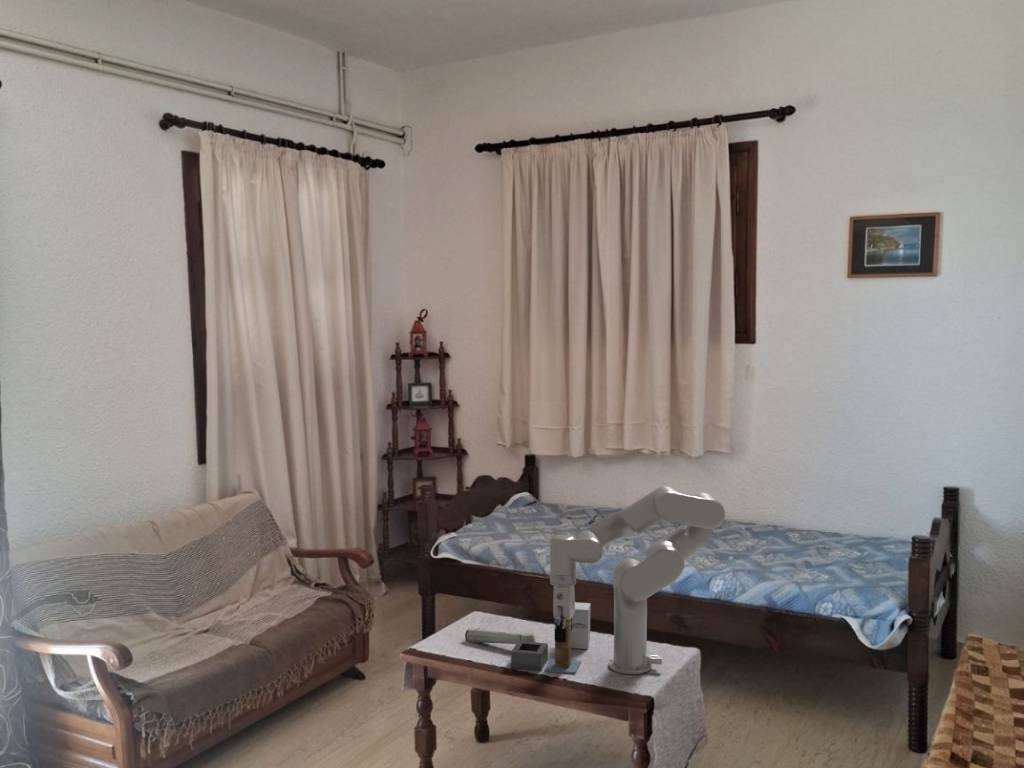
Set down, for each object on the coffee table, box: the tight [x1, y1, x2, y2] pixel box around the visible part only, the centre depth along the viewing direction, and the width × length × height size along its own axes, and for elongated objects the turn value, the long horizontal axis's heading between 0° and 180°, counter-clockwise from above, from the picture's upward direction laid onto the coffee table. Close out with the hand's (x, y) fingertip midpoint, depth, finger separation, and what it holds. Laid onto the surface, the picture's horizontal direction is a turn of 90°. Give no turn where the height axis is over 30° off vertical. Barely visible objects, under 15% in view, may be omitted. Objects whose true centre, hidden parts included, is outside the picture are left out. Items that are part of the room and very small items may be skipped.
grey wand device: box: [464, 627, 539, 645], centre depth 271 cm, size 5×7×25 cm
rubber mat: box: [544, 657, 582, 675], centre depth 255 cm, size 9×9×1 cm
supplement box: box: [571, 601, 592, 650], centre depth 273 cm, size 7×7×13 cm
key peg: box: [554, 620, 572, 668], centre depth 255 cm, size 5×5×13 cm
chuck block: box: [510, 641, 549, 672], centre depth 258 cm, size 9×9×5 cm
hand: (563, 636), depth 255 cm, fingers open, 9 cm apart
